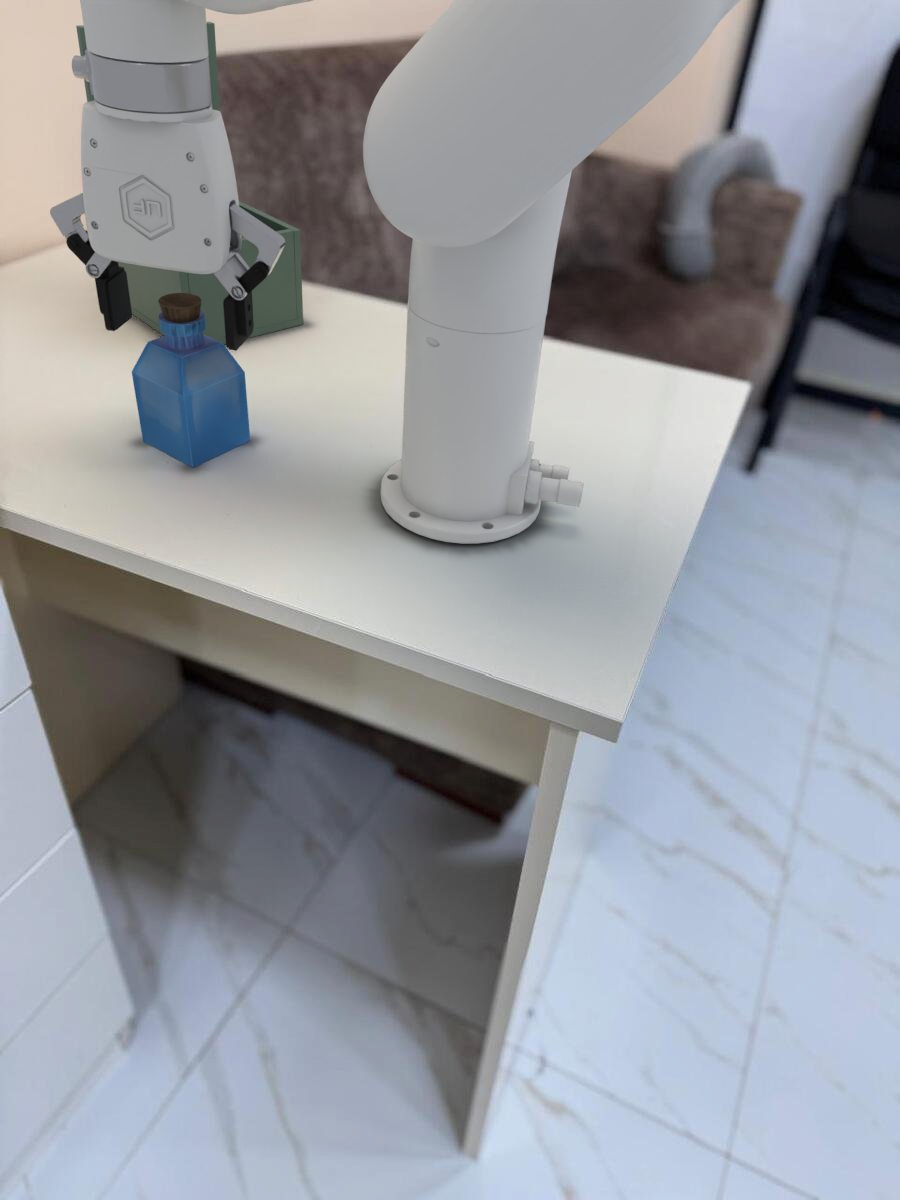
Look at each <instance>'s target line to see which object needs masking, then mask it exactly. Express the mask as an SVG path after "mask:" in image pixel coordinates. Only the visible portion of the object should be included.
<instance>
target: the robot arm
mask: <svg viewBox="0 0 900 1200" xmlns="http://www.w3.org/2000/svg"><path fill="white" fill-rule="evenodd" d="M79 1H80V9H81V16H82V23H83V24H82V25H84V31H85V38H86V45H87V49H86V50H85V55H84V56H81V55H78V54H77V55H74V56H73V57H72V58H71V71H72V73H73V75H74V77H75V78H76V79H81V80H84V79H85V80H86V81H87V82H89V83H90V90H91V94H92V95H94V100H93V101H90V102H87V101H86V102H85V103H83V104H82V111H81V126H80V127H81V129H80V166H81V167H80V168H81V169H80V171H81V185H82V192H80V193H79V194H77V195H74V196H73V197H70V198H68V199H66V200H64V201H62V202H60V203H58V204H56V205H54V206H51V208H50V210H49V213H50V217H51V219H52V220H53V222H54V223H55V225H56V227H57V228H58V229H59V232H60V234H61V235H62V237H65V239H66V241H65V242H66V246H67V248H68V249H69V250H70V251H71V252H72V253H73V254H74V255H75V256H76V257H77V259H79V261H80V262H82V264H83V265H84V266H85V272H86V273H87V275H88V276H89V277H91V278H93V279H94V283H95V288H96V294H97V301H98V308H99V311H100V313H101V315H103V321H104V327H105V329H106V331H111V332H115V331H118V330H119V328H121V327H122V326H123V325H125V324H126V323H127V322H129V320H131V319H132V317H133V314H132V310H131V303H130V295H129V288H128V281H127V274H126V271H124V267H120V266H119V265H118V262H122V263H128V264H134V265H140V266H147V267H153V268H160V269H166V270H173V271H180V272H187V273H194V274H211V273H214V275H215V276H216V277H217V279H218V280H219V281H220V282H221V284H222V285H223V286H224V287H225V289H226V290H227V291H228V292H229V295H228V296H227V297H226V298H225V299H224V301H223V307H224V321H225V335H226V344H225V347H226V348H227V349H228V351H229V350H230V351H234V352H235V351H238V350H239V349H240V347H241V346H242V345H243V344H244V343H245V342H246V341H247V340H248V339H249V338H248V337H250V336H251V334H252V332H253V328H254V322H253V303H252V290H253V289H254V288H255V287H256V286H258V285H259V284H260V283H261V282H262V281H263V280H264V279H265V278H266V277H267V276H268V275H269V274H270V273H271V272H272V271H273V269H274V266H275V264H276V262H277V261H278V259H279V256H280V254H281V252H282V250H283V248H284V246H285V239H284V237H283V236H281V235H280V234H279V233H277V232H276V231H274V230H273V229H271V228H270V227H268V226H267V225H265V224H264V223H263V222H261V221H260V220H258V219H257V218H255V217H254V216H252V215H251V214H249V213H248V212H247V211H245V210H244V209H242V208H241V207H239V201H240V200H239V194H238V185H237V184H238V183H237V179H236V172H235V166H234V160H233V156H232V150H231V146H230V141H229V138H228V137H229V136H228V134H227V133H228V132H227V130H226V126H225V122H224V119H223V115H222V112H221V110H220V111H217V110H213V109H212V97H211V83H210V68H209V57H208V55H209V53H208V39H207V25H206V22H207V14H206V13H207V12H206V11H207V10H210V11H214V12H217V13H221V14H228V15H250V14H251V15H252V14H255V13H260V12H266V11H270V10H271V11H272V10H275V9H277V8H282V7H287V6H293V5H298V4H302V3H303V4H304V3H308V2H313V1H314V0H79ZM739 2H741V0H453V1H452V2H451V3H450V4H449V6H447V8H446V9H445V10H444V11H443V12H442V13H441V15H440V16H439V17H438V18H437V19H436V20H435V21H434V23H432V25H431V26H430V27H429V29H428V30H427V31H426V32H425V33H424V34H423V35H422V36H421V37H420V39H419V40H418V41H417V42H416V43H415V44H414V45H413V47H412V48H411V49H410V50H409V51H408V52H407V53H406V54H405V56H404V57H403V58H402V59H401V60H400V61H399V62H398V63H397V65H396V66H395V68H394V69H393V70H392V71H391V72H390V73H389V75H388V76H387V78H386V79H385V80H384V82H383V83H382V85H381V86H380V88H379V90H378V92H377V93H376V95H375V97H374V99H373V101H372V103H371V106H370V108H369V111H368V113H367V114H368V115H367V118H366V123H365V126H364V132H363V142H362V159H363V160H362V161H363V169H364V175H365V179H366V183H367V186H368V188H369V191H370V194H371V196H372V198H373V200H374V202H375V204H376V206H377V208H378V209H379V211H380V212H381V214H382V215H383V216H384V217H385V219H386V220H387V221H388V222H390V224H391V225H392V226H393V227H394V228H396V229H397V230H398V231H400V232H401V233H402V234H404V235H405V236H407V237H409V238H410V239H412V242H411V250H410V259H409V260H410V261H409V272H408V273H409V275H408V294H407V295H408V297H407V309H406V311H407V312H406V335H405V337H406V338H405V359H404V360H405V361H404V368H405V369H404V386H403V387H404V389H403V390H404V391H403V414H402V415H403V416H402V417H403V418H402V439H401V441H402V442H401V459H399V460H397V461H396V462H395V463H394V464H392V465H391V466H389V467H388V468H387V470H386V472H384V474H383V475H382V479H381V482H380V501H381V504H382V506H383V508H384V511H385V512H386V513H387V515H388V516H390V517H391V519H392V520H393V521H395V522H396V523H398V524H399V525H400V526H402V527H403V528H405V529H406V530H408V531H411V532H412V533H415V534H416V535H419V536H422V537H425V538H428V539H431V540H435V541H440V542H445V543H452V544H461V545H462V544H464V545H467V544H468V545H469V544H473V545H475V544H485V543H494V542H497V541H502V540H505V539H508V538H510V537H513V536H515V535H518V534H520V533H521V532H523V531H525V530H526V529H528V528H529V527H530V526H531V525H532V524H533V523H534V522H535V521H536V519H537V517H538V515H539V513H540V511H541V504H542V502H549V503H554V504H557V505H561V506H562V505H563V506H570V507H575V508H580V506H581V502H582V497H583V496H582V495H583V491H584V490H583V489H584V481H581V480H573V479H569V474H570V466H567V465H558V464H546V463H540V462H541V460H540V459H536V458H533V456H534V448H535V442H534V441H532V440H530V439H531V438H530V437H531V432H532V431H531V430H532V423H533V416H534V407H535V401H536V394H537V393H536V392H537V386H538V379H539V372H540V363H541V356H542V350H543V349H542V348H543V343H544V342H543V341H544V335H545V327H546V319H547V315H548V309H549V301H550V296H551V289H552V288H551V287H552V281H553V274H554V267H555V260H556V255H557V248H558V247H557V246H558V243H559V238H560V232H561V226H562V221H563V217H564V211H565V207H566V202H567V199H568V198H567V197H568V193H569V187H570V183H571V177H572V173H573V170H574V169H575V168H576V167H578V166H579V165H580V164H581V163H582V162H583V161H584V160H585V159H586V158H587V157H589V156H590V155H591V154H592V153H593V152H595V150H596V149H598V148H600V146H601V145H602V144H604V143H605V142H606V141H607V140H608V139H609V138H610V137H611V136H612V135H614V134H615V133H616V132H617V131H618V130H620V128H622V127H623V126H625V124H626V123H628V121H630V120H631V119H632V118H633V117H634V116H635V115H637V113H639V112H640V111H641V110H643V108H644V107H645V106H647V105H648V104H649V102H651V101H652V100H653V99H654V98H655V97H656V96H657V95H658V94H660V92H661V91H662V90H664V89H665V88H666V87H667V86H668V85H669V84H670V83H671V82H672V81H673V80H675V78H677V76H678V75H679V74H680V73H682V71H683V70H684V69H685V68H686V67H687V66H688V65H689V63H690V62H691V61H692V60H693V59H694V58H695V56H696V55H697V54H698V52H699V51H700V49H701V48H702V47H703V45H704V44H705V43H706V42H707V40H708V39H709V37H710V36H711V35H712V33H713V31H714V30H715V29H716V27H717V26H718V25H719V23H720V22H721V21H722V20H723V19H724V18H725V17H726V16H727V14H729V12H730V11H732V10H733V8H734V7H735V6H736V5H737V4H739ZM206 9H207V10H206ZM82 215H84V216H85V225H86V226H85V227H86V229H85V228H84V224H83V222H82V219H81V218H82ZM242 236H243V237H244V238H246V239H247V240H248V241H250V242H251V243H253V244H254V245H256V246H257V248H258V251H259V253H258V256H257V259H256V261H255V263H254V265H253V266H252V267H251V268H250V267H249V266H248V265H247V264H246V262H245V261H244V260H243V258H242V257H241V256H240V254H239V251H240V249H241V241H242Z"/></svg>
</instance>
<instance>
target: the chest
mask: <svg viewBox="0 0 900 1200" xmlns="http://www.w3.org/2000/svg"><path fill="white" fill-rule="evenodd" d="M239 207H241V208H242V209H244V210H245V211H247V212H248V213H249V214H251V215H252V216H254V217H255V218H257V219H258V220H260V221H261V222H263V223H264V224H265V225H267V226H268V227H270V228H271V229H273V230H274V231H276V232H277V233H279V234H280V235H281V236H283V237H284V239H285V246H284V248H283V250H282V252H281V254H280V256H279V259H278V261H277V262H276V264H275V266H274V269H273V271H272V272H271V273H270V274H269V275H268V276H267V277H266V278H265V279H264V280H263V281H262V282H261V283H260V284H259V285H258V286H256V287H255V288H254V289H253V290H252V303H253V322H254V328H253V332H252V334H251V336H250V337H248V338H247V339H250V338H254V337H258V336H262V335H265V334H266V335H267V334H270V333H274V332H279V331H282V330H287V329H290V328H293V327H298V326H302V325H304V306H303V305H304V304H303V275H302V273H303V272H302V251H301V250H302V247H301V246H302V245H301V229H299V228H297V227H294V226H293V225H291V224H289V223H287V222H285V221H282V220H280V219H278V218H276V217H274V216H272V215H270V214H268V213H265V212H263V211H261V210H259V209H257V208H255V207H253V206H252V205H249V204H246V203H244V202H243V201H240V200H239ZM258 253H259V251H258V248H257V246H256V245H254V244H253V243H251V242H250V241H248V240H247V239H246V238H244V237H243V236H242V241H241V249H240V251H239V254H240V256H241V257H242V258H243V260H244V261H245V262H246V264H247V265H248V266H249V267H250V268H251V267H252V266H253V265H254V263H255V261H256V259H257V256H258ZM118 265H119V266H120V267H124V271H126V274H127V281H128V288H129V295H130V303H131V310H132V316H134V317H135V318H137V319H139V320H140V321H142V322H143V323H144V324H146V325H147V326H149V327H150V328H152V329H153V330H155V332H157V333H159V334H161V335H162V337H163V336H165V334H164V333H163V332H161V330H160V325H159V318H158V317H159V314H160V313H161V312H162V310H161V308H160V305H159V302H158V300H159V298H161V297H162V296H164V295H167V294H171V293H190V294H194V295H197V296H199V297H200V298H201V308H200V311H202V312H203V313H204V314H205V320H206V330H205V331H204V332H203V335H206V336H208V337H210V338H213V339H215V340H217V341H220V342H222V343H223V344H224V345H226V335H225V321H224V307H223V301H224V299H225V298H226V297H227V296H228V295H229V292H228V291H227V290H226V289H225V287H224V286H223V285H222V284H221V282H220V281H219V280H218V279H217V277H216V276H215V275H214V273H211V274H194V273H187V272H180V271H173V270H166V269H160V268H153V267H147V266H140V265H134V264H128V263H122V262H118Z"/></svg>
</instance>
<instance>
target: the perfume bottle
mask: <svg viewBox="0 0 900 1200" xmlns="http://www.w3.org/2000/svg"><path fill="white" fill-rule="evenodd" d="M158 302H159V305H160V308H161V310H162V312H161V313H160V314H159V317H158V318H159V325H160V330H161V332H163V333H164V334H165V336H163V335H162V336H161V337H157V338H155V339H152V340H149V341H147V342H146V344H145V346H144V347H143V350H142V352H141V353H140V356H139V357H138V358H137V361H136V363H135V365H134V367H133V368H132V371H131V376H132V382H133V383H132V384H133V390H134V396H135V400H136V401H135V402H136V407H137V414H138V419H139V425H140V432H141V438H142V442H143V443H145V444H147V445H149V446H151V447H153V448H154V449H156V450H159V451H160V452H163V453H164V454H166V455H168V456H170V457H172V458H173V459H175V460H177V461H179V462H181V463H183V464H185V465H187V466H189V467H190V468H195V467H197V466H199V465H202V464H204V463H206V462H208V461H210V460H212V459H214V458H217V457H219V456H221V455H223V454H225V453H227V452H230V451H231V450H233V449H236V448H237V447H240V446H242V445H244V444H246V443H248V442H250V441H251V432H250V421H249V420H250V419H249V408H248V395H247V383H246V372H245V370H244V369H243V368H242V367H241V365H240V364H239V362H238V361H237V360H236V359H235V358H234V356H233V355H232V354H231V352H230V351H229V349H228V348H227V346H226V345H225V344H223V343H222V342H220V341H217V340H215V339H213V338H210V337H208V336H206V335H203V332H204V331H205V330H206V320H205V314H204V313H203V312H202V311H200V308H201V298H200V297H199V296H197V295H194V294H190V293H171V294H167V295H164V296H162V297H161V298H159V300H158Z"/></svg>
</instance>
